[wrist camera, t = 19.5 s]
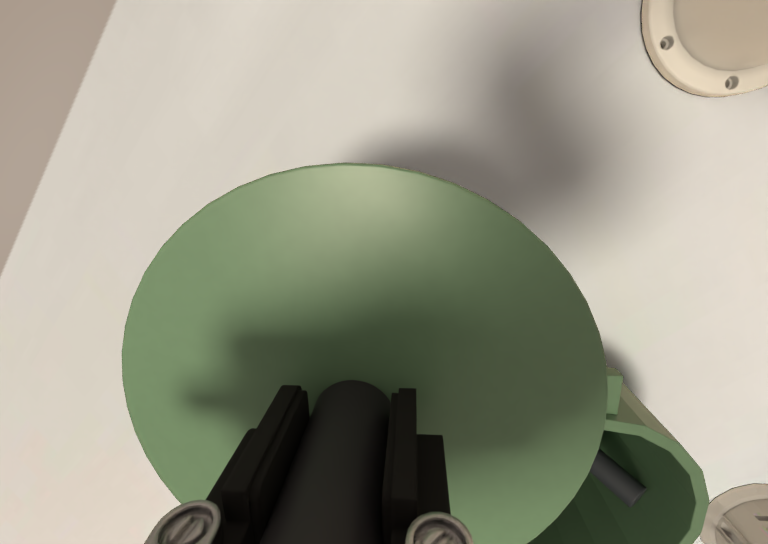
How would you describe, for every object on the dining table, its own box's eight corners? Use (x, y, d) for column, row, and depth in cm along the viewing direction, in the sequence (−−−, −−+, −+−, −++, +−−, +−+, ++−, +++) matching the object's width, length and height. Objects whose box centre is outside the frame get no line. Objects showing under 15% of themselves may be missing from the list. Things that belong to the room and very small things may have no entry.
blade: (521, 422, 32) (619, 512, 26) (572, 378, 34) (674, 452, 28) (521, 456, 36) (605, 540, 30) (566, 414, 38) (654, 486, 32)
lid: (184, 546, 16) (37, 796, 10) (100, 167, 12) (-264, 179, 6) (563, 569, 15) (672, 870, 9) (626, 156, 11) (942, 156, 4)
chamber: (457, 489, 40) (475, 614, 29) (461, 310, 34) (484, 381, 23) (603, 493, 39) (679, 624, 28) (631, 309, 33) (740, 382, 22)
